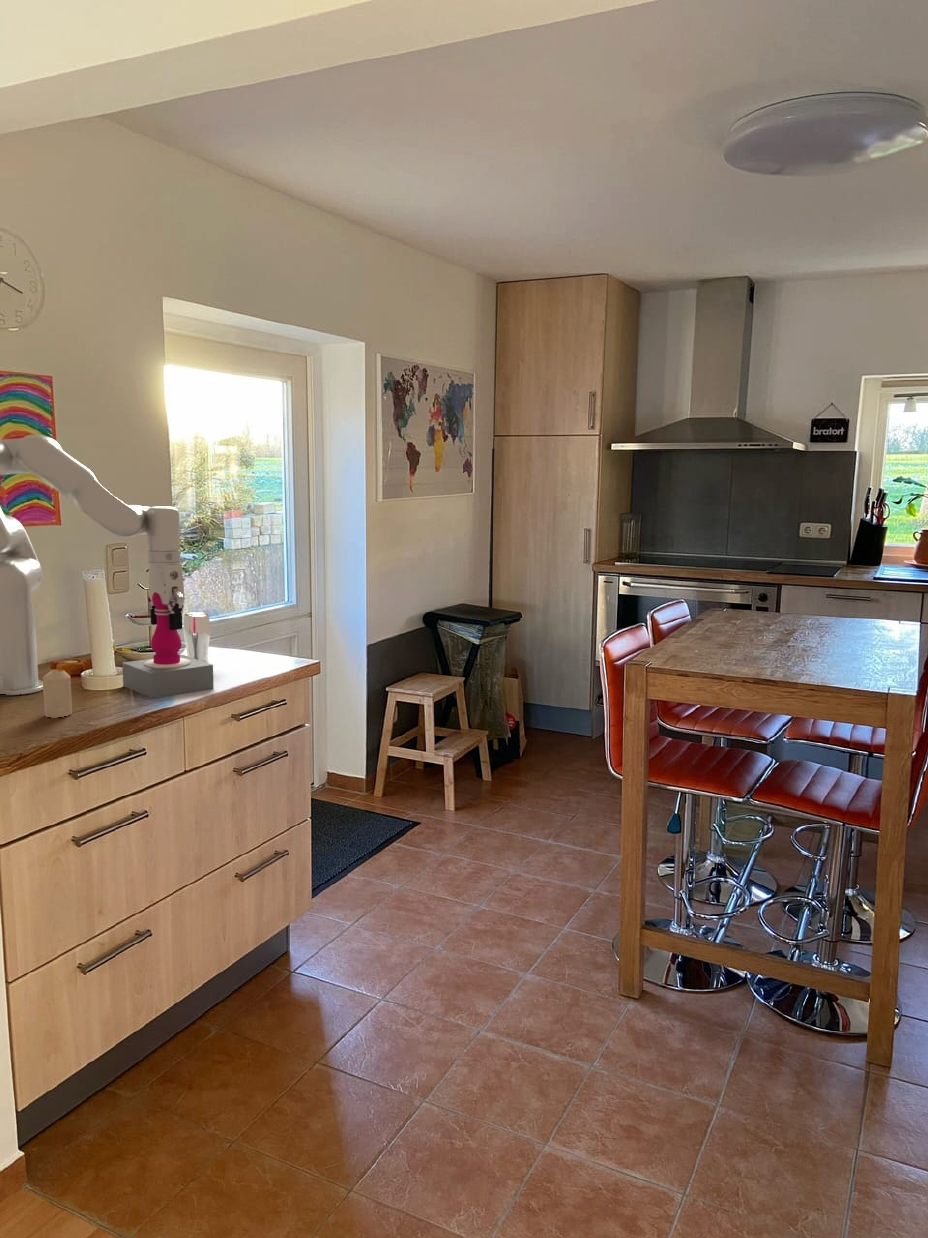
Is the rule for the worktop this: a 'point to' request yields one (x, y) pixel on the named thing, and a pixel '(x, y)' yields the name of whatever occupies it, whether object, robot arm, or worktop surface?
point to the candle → (57, 694)
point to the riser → (167, 677)
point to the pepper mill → (164, 636)
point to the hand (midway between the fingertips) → (166, 626)
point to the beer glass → (197, 635)
